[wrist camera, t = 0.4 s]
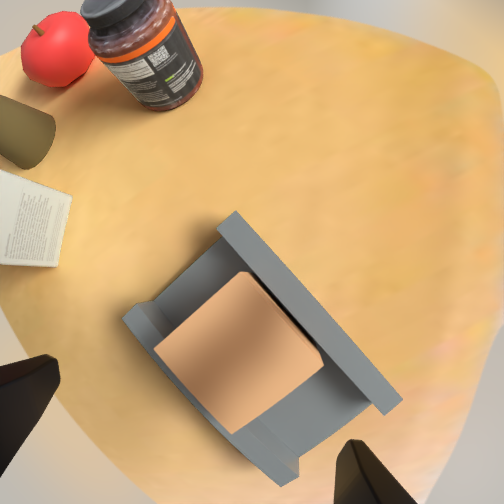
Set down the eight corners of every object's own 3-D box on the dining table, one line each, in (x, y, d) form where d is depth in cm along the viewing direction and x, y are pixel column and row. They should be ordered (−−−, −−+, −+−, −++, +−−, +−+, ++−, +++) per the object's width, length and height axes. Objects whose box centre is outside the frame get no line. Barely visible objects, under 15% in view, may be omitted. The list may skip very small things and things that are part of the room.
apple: (55, 54, 25) (17, 19, 17) (112, 28, 24) (78, -18, 17) (42, 108, 25) (-7, 75, 17) (102, 81, 24) (56, 35, 16)
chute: (387, 381, 19) (403, 399, 16) (282, 460, 20) (280, 487, 16) (244, 220, 21) (235, 210, 18) (145, 312, 22) (121, 318, 18)
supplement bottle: (158, 54, 23) (103, -31, 12) (217, 62, 22) (177, -41, 11) (126, 107, 23) (49, 31, 12) (185, 120, 22) (118, 26, 11)
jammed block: (315, 343, 19) (324, 365, 14) (244, 400, 19) (231, 434, 14) (252, 272, 20) (239, 271, 15) (184, 332, 20) (153, 348, 15)
